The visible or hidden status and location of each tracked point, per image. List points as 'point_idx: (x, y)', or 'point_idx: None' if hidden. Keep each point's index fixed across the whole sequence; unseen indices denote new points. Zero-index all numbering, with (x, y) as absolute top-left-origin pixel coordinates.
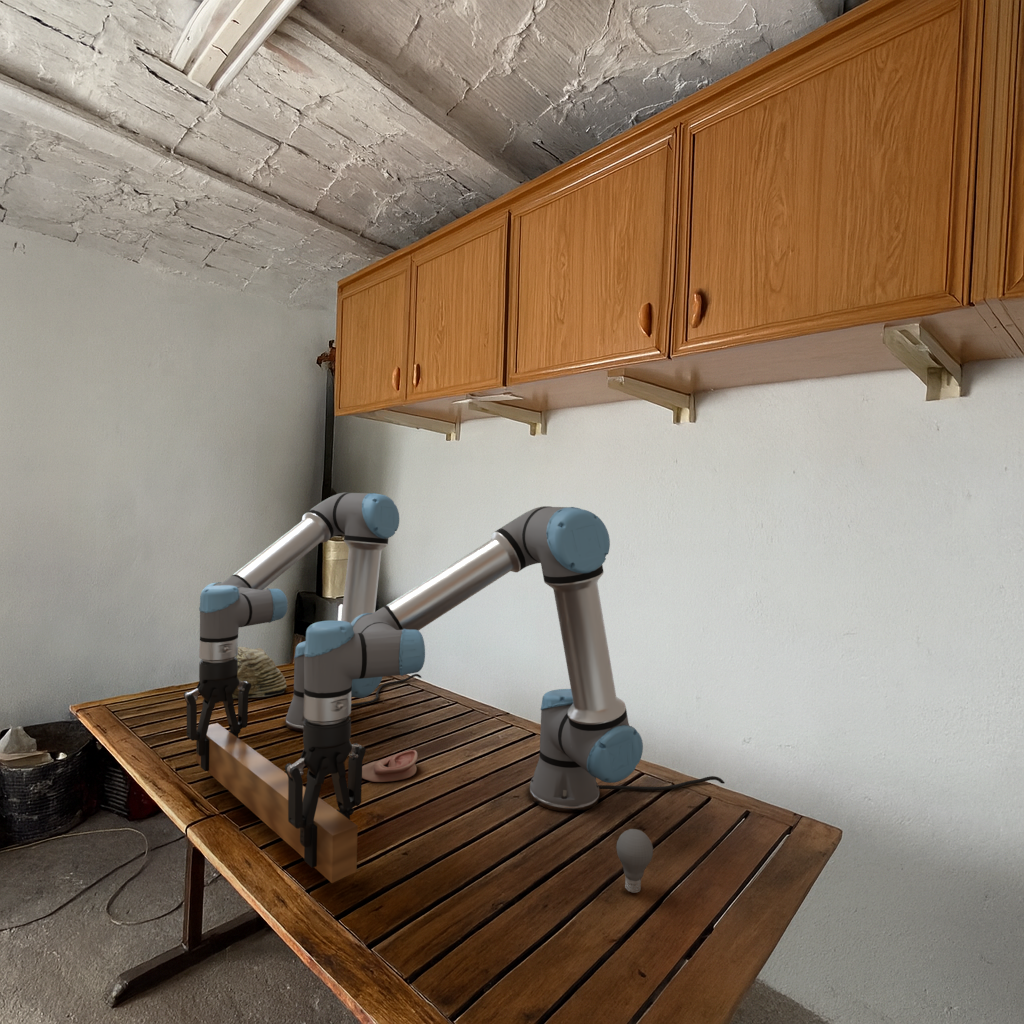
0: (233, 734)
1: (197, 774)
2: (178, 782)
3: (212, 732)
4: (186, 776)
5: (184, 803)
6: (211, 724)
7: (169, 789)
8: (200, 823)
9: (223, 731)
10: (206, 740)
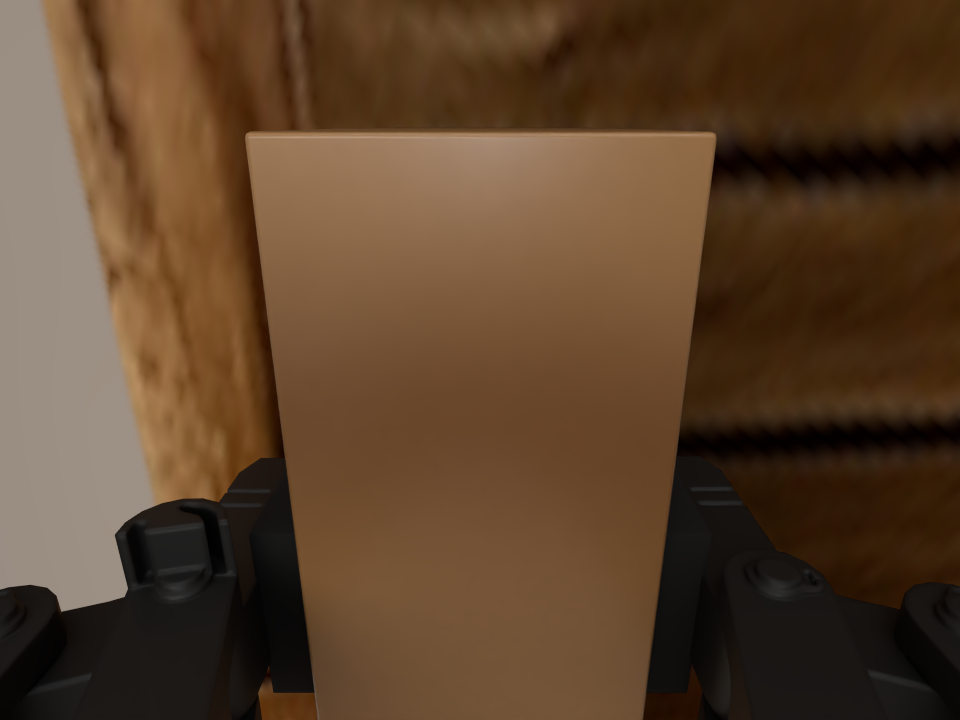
0: (676, 687)
1: (431, 44)
2: (262, 109)
3: (425, 569)
4: (344, 23)
5: (233, 465)
6: (575, 144)
7: (180, 198)
8: (260, 700)
9: (582, 632)
10: (287, 681)
